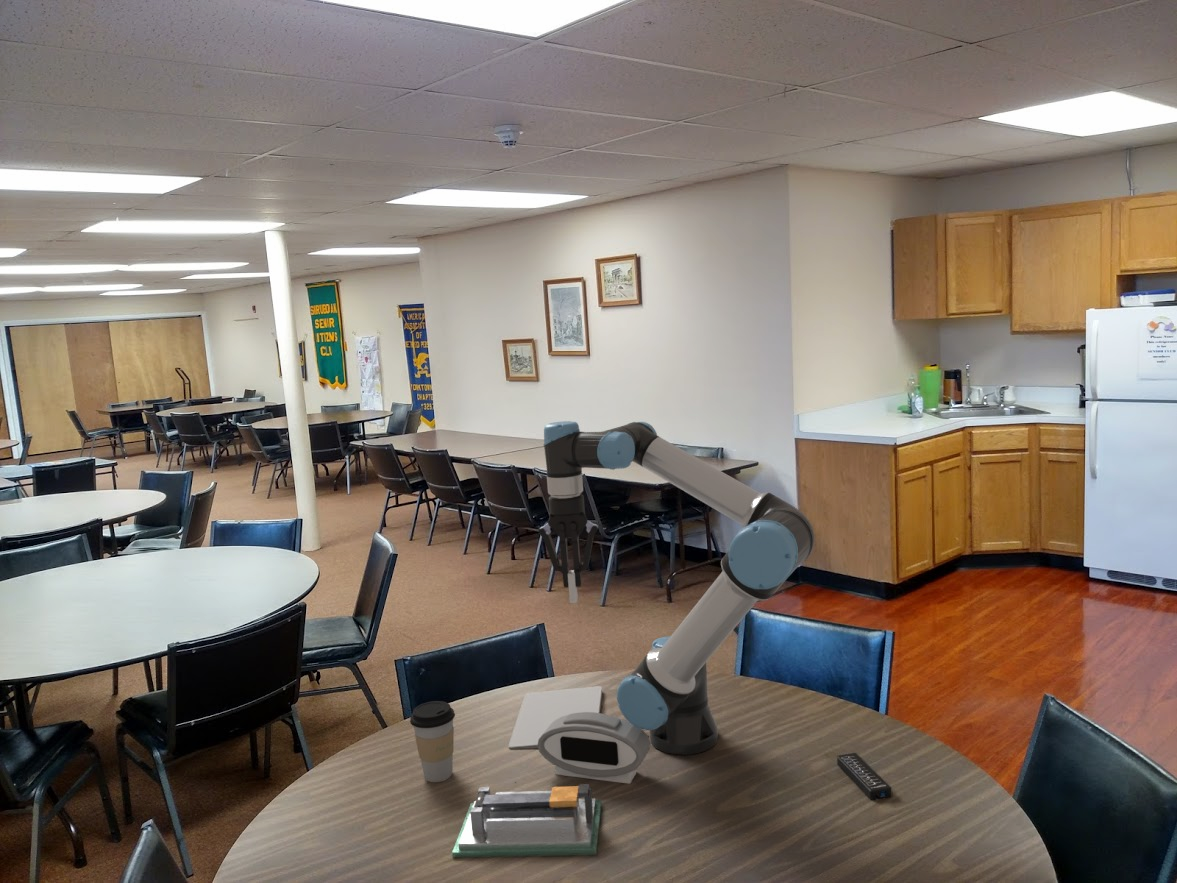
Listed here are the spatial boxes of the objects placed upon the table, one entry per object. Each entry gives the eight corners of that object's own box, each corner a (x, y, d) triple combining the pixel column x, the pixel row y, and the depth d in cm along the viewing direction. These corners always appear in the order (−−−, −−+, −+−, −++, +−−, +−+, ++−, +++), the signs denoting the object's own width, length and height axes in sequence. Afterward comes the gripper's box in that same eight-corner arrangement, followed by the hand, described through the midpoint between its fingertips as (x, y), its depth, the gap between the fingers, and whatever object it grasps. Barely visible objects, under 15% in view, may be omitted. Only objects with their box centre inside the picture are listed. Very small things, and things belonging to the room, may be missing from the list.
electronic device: (596, 747, 193) (595, 739, 193) (508, 751, 194) (507, 742, 194) (602, 693, 221) (601, 685, 221) (525, 696, 223) (524, 688, 222)
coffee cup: (451, 787, 179) (444, 719, 177) (408, 785, 181) (401, 718, 179) (466, 764, 189) (460, 699, 187) (426, 763, 191) (419, 698, 189)
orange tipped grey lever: (579, 794, 163) (578, 786, 163) (577, 809, 158) (576, 800, 158) (479, 798, 165) (478, 789, 165) (474, 813, 160) (473, 804, 160)
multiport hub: (856, 762, 179) (856, 752, 179) (892, 799, 165) (892, 787, 165) (836, 765, 178) (836, 755, 178) (871, 802, 164) (871, 791, 164)
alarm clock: (539, 774, 182) (534, 717, 181) (550, 760, 188) (545, 704, 186) (644, 787, 174) (640, 728, 173) (652, 772, 180) (648, 714, 178)
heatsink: (601, 804, 169) (598, 766, 168) (596, 854, 153) (592, 812, 152) (471, 807, 171) (467, 769, 170) (452, 857, 156) (448, 815, 154)
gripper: (597, 489, 187) (604, 594, 190) (537, 492, 188) (546, 596, 191) (595, 496, 179) (602, 605, 182) (533, 499, 180) (541, 608, 183)
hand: (573, 601), depth 187 cm, fingers closed
